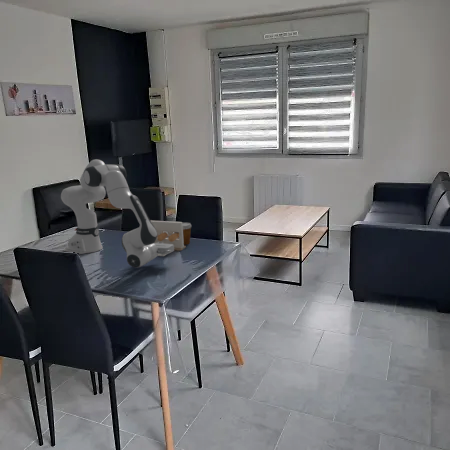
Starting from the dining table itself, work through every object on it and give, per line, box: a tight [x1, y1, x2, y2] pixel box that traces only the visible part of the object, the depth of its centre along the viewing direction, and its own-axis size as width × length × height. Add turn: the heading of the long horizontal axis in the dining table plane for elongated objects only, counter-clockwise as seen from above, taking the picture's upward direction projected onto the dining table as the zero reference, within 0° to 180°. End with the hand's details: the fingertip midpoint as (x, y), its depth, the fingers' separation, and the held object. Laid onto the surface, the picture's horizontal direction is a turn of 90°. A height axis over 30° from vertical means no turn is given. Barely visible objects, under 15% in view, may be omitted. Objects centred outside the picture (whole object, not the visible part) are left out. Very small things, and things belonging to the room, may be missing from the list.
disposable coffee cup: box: [176, 222, 192, 246], centre depth 258 cm, size 10×10×12 cm
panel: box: [150, 220, 187, 252], centre depth 249 cm, size 22×7×16 cm, turn 71°
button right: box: [167, 232, 179, 242], centre depth 244 cm, size 4×6×4 cm, turn 162°
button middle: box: [157, 232, 168, 241], centre depth 246 cm, size 4×6×4 cm, turn 161°
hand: (161, 243), depth 229 cm, fingers closed
